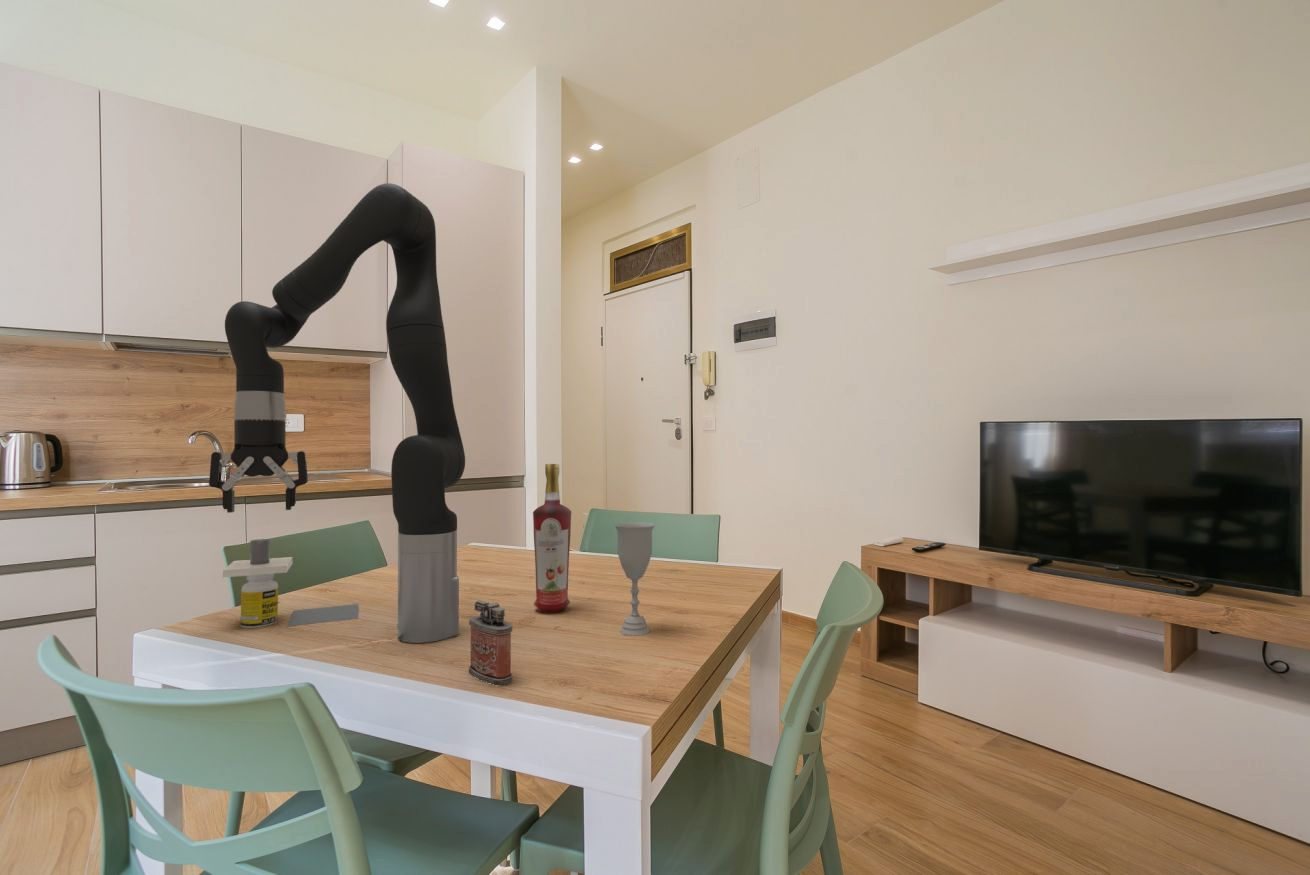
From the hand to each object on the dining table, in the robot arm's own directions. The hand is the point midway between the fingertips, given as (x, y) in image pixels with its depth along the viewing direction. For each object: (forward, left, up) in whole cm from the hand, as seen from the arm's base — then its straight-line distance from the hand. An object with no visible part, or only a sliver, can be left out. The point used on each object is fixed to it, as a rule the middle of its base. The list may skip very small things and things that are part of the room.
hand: (260, 510), depth 105 cm
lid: (0, 0, -10) cm, 10 cm away
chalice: (-58, +31, -20) cm, 69 cm away
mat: (-10, -1, -20) cm, 22 cm away
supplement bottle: (0, 0, -20) cm, 20 cm away
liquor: (-49, +12, -20) cm, 54 cm away
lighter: (-32, +41, -20) cm, 56 cm away
